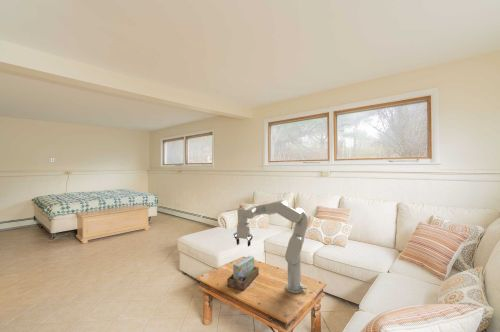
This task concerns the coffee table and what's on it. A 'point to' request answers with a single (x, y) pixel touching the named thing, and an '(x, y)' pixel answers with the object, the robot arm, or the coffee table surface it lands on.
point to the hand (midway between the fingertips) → (243, 245)
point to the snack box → (243, 269)
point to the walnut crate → (246, 283)
